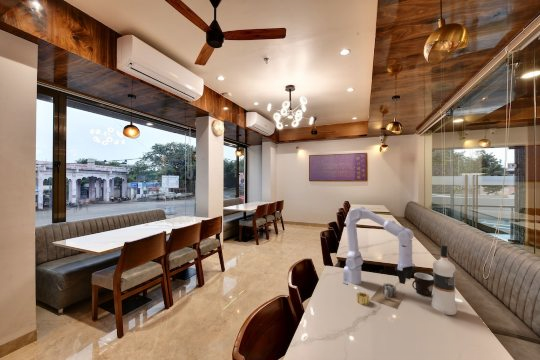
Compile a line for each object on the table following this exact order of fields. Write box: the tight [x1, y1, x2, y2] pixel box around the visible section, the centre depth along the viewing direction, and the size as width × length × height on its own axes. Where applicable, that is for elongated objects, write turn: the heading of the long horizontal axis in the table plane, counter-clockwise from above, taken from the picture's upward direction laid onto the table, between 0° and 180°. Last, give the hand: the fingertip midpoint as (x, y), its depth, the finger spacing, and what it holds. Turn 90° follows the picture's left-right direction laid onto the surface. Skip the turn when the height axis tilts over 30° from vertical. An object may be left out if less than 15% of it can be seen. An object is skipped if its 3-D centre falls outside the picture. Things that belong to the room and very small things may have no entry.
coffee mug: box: [411, 272, 433, 298], centre depth 119 cm, size 12×9×10 cm
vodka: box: [430, 244, 458, 316], centre depth 106 cm, size 9×9×30 cm
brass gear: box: [356, 291, 370, 306], centre depth 111 cm, size 6×6×4 cm
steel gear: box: [382, 283, 397, 297], centre depth 118 cm, size 6×6×4 cm
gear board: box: [369, 286, 406, 310], centre depth 115 cm, size 12×18×6 cm, turn 140°
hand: (405, 280), depth 114 cm, fingers open, 7 cm apart
